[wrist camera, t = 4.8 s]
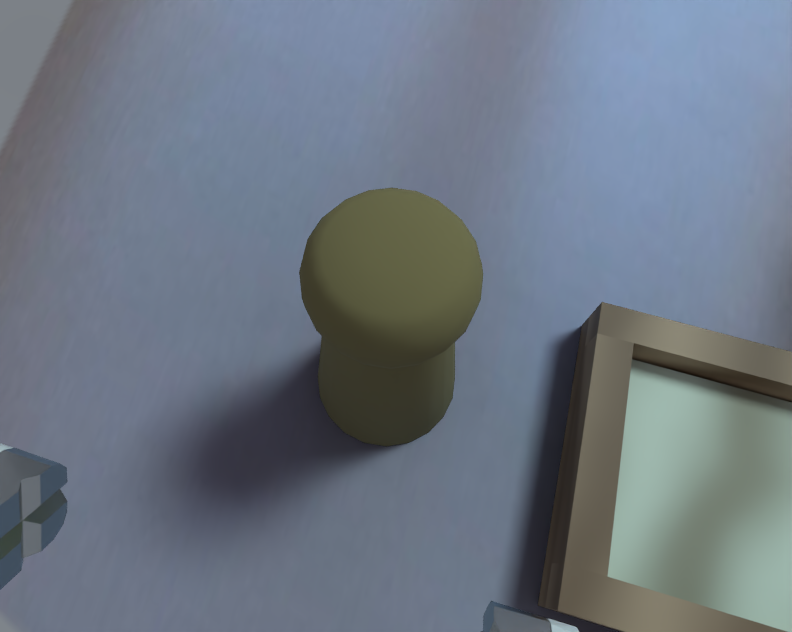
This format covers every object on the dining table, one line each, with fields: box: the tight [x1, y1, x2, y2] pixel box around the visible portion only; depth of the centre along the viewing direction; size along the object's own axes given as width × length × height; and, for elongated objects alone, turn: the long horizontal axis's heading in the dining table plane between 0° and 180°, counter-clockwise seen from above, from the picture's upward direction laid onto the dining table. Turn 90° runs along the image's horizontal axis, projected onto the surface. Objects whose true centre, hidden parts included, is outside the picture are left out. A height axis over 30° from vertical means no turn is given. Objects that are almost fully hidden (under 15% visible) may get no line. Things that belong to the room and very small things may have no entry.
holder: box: [538, 302, 792, 632], centre depth 21 cm, size 12×12×2 cm
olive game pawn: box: [299, 188, 483, 446], centre depth 19 cm, size 6×6×11 cm
